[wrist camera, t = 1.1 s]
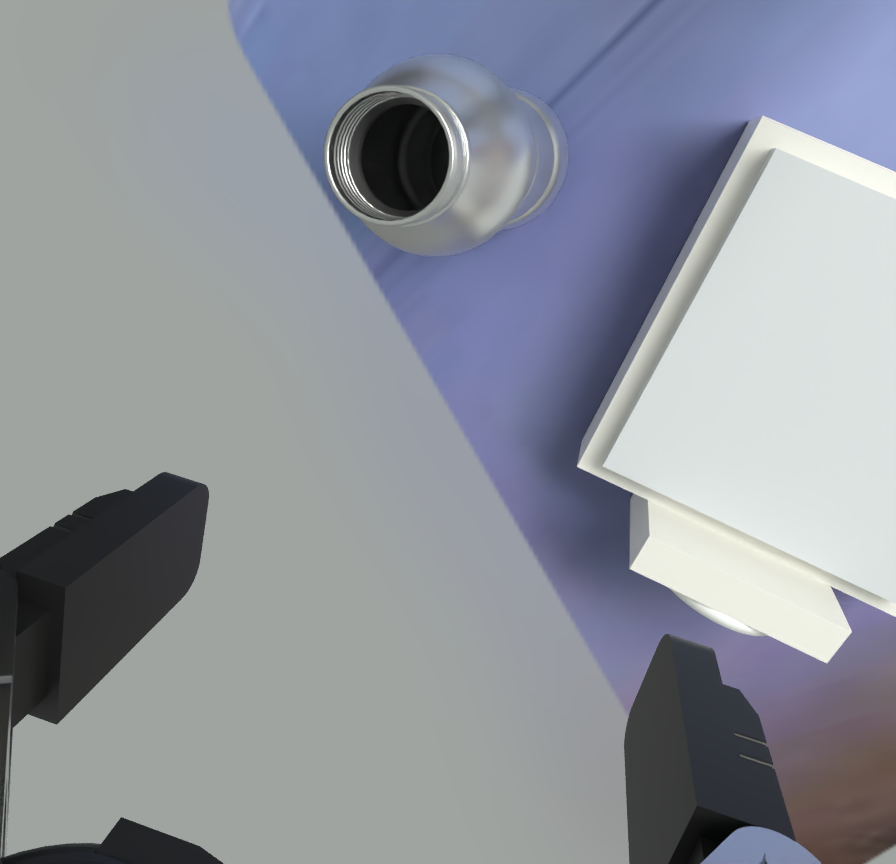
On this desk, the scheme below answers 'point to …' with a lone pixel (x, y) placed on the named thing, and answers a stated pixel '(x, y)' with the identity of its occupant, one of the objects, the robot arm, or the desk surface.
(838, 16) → the desk surface
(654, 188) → the desk surface
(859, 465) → the plate
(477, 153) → the silver metal bottle
